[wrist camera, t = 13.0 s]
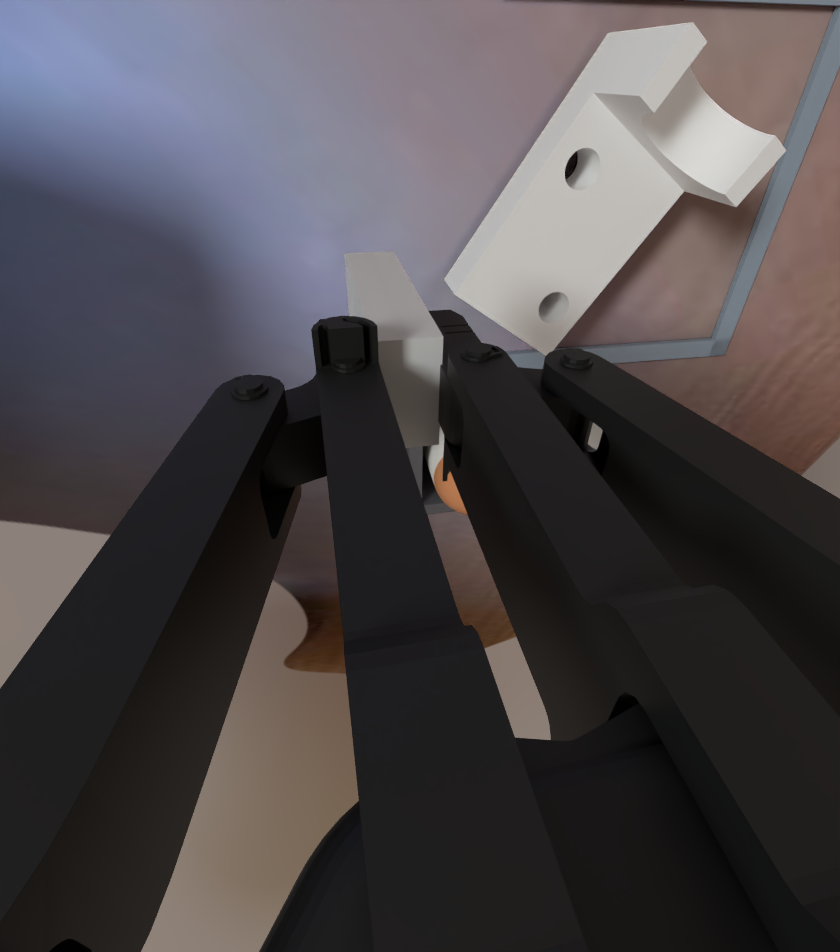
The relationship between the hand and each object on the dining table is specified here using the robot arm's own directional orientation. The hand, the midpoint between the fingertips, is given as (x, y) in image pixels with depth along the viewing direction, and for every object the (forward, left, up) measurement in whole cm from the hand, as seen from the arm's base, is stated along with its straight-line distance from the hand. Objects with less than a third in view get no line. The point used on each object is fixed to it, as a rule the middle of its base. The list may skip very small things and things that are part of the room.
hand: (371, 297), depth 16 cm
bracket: (+12, 0, -14) cm, 18 cm away
